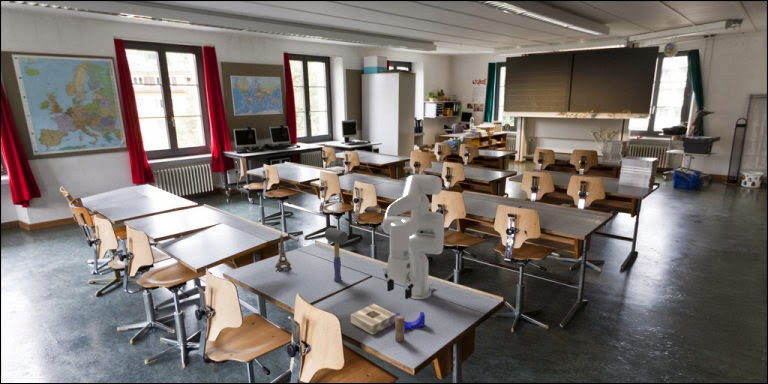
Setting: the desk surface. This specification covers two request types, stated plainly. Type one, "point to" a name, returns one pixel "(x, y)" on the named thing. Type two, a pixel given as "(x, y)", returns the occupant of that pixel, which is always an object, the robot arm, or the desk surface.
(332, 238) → the rubber mallet
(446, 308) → the desk surface
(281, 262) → the eiffel tower
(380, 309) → the board
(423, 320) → the blue u-shaped cradle
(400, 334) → the peg
